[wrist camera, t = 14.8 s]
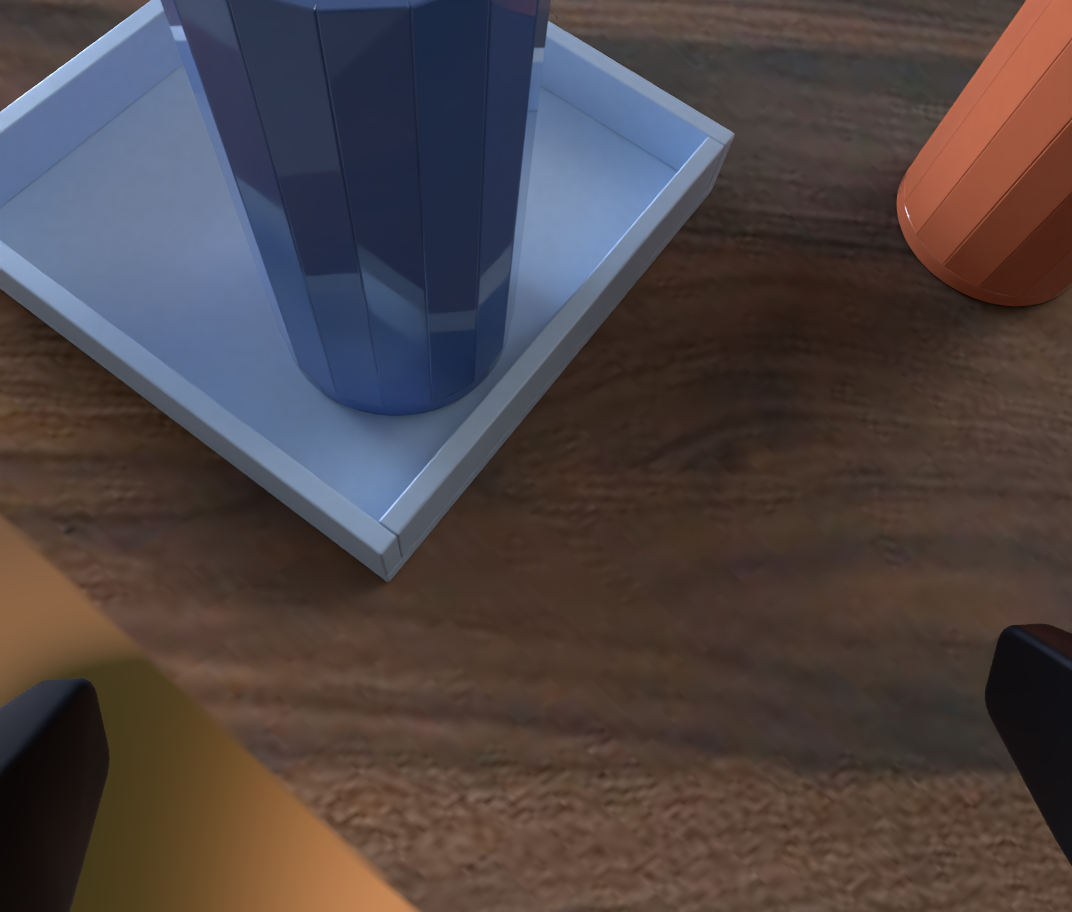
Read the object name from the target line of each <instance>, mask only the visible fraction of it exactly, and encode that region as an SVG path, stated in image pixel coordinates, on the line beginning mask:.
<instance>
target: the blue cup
mask: <svg viewBox="0 0 1072 912" xmlns="http://www.w3.org/2000/svg"><path fill="white" fill-rule="evenodd" d="M160 1H161V3H162V6H163V9H164V12H165V14H166V17H167V20H168V23H169V26H170V28H171V31H172V34H173V37H174V39H175V42H176V45H177V48H178V51H179V53H180V56H181V59H182V62H183V64H184V67H185V70H186V73H187V76H188V78H189V81H190V84H191V87H192V89H193V92H194V95H195V98H196V101H197V103H198V106H199V109H200V112H201V115H202V117H203V120H204V123H205V126H206V128H207V131H208V134H209V137H210V140H211V142H212V145H213V148H214V151H215V153H216V156H217V159H218V162H219V165H220V167H221V170H222V173H223V176H224V178H225V181H226V184H227V187H228V190H229V192H230V195H231V198H232V201H233V204H234V206H235V209H236V212H237V215H238V217H239V220H240V223H241V226H242V229H243V231H244V234H245V237H246V240H247V242H248V245H249V248H250V251H251V254H252V256H253V259H254V262H255V265H256V267H257V270H258V273H259V276H260V279H261V281H262V284H263V287H264V290H265V292H266V295H267V298H268V301H269V304H270V306H271V309H272V312H273V315H274V318H275V320H276V323H277V326H278V329H279V331H280V334H281V336H282V337H283V339H284V341H285V343H286V345H287V348H288V350H289V352H290V355H291V357H292V359H293V361H294V362H295V364H296V365H297V367H298V368H299V370H300V372H301V373H302V374H303V375H304V376H305V377H306V378H307V380H308V381H309V382H310V383H311V384H312V385H314V386H315V387H316V388H317V389H318V390H319V391H321V392H322V393H323V394H325V395H327V396H328V397H330V398H331V399H333V400H335V401H337V402H339V403H341V404H343V405H345V406H347V407H350V408H353V409H356V410H359V411H362V412H367V413H372V414H377V415H389V416H402V415H413V414H420V413H425V412H429V411H432V410H436V409H439V408H442V407H444V406H446V405H449V404H451V403H453V402H455V401H457V400H459V399H460V398H462V397H464V396H465V395H467V394H468V393H470V392H471V391H472V390H474V389H475V388H476V387H477V386H479V385H480V384H481V383H482V382H483V381H484V380H485V379H486V378H487V377H488V375H489V374H490V373H491V371H492V370H493V369H494V367H495V366H496V365H497V363H498V361H499V359H500V357H501V356H502V354H503V351H504V349H505V346H506V343H507V340H508V336H509V331H510V324H511V321H512V317H513V314H514V307H515V298H516V289H517V281H518V272H519V264H520V255H521V247H522V238H523V230H524V221H525V213H526V204H527V196H528V187H529V179H530V170H531V162H532V153H533V145H534V136H535V128H536V119H537V111H538V102H539V94H540V85H541V76H542V68H543V59H544V51H545V42H546V34H547V25H548V17H549V8H550V0H160Z"/></svg>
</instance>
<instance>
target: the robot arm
mask: <svg viewBox="0 0 1072 912" xmlns="http://www.w3.org/2000/svg"><path fill="white" fill-rule="evenodd" d="M985 701H986V707H987V710H988V713H989V716H990V718H991V720H992V722H993V724H994V725H995V727H996V729H997V731H998V733H999V735H1000V737H1001V739H1002V740H1003V742H1004V744H1005V746H1006V748H1007V750H1008V752H1009V754H1010V755H1011V757H1012V759H1013V761H1014V763H1015V765H1016V767H1017V769H1018V770H1019V772H1020V774H1021V776H1022V778H1023V780H1024V782H1025V784H1026V786H1027V787H1028V789H1029V791H1030V793H1031V795H1032V797H1033V799H1034V801H1035V802H1036V804H1037V806H1038V808H1039V810H1040V812H1041V814H1042V816H1043V817H1044V819H1045V821H1046V823H1047V825H1048V827H1049V828H1050V830H1051V832H1052V834H1053V836H1054V837H1055V839H1056V841H1057V843H1058V844H1059V846H1060V848H1061V849H1062V851H1063V853H1064V854H1065V856H1066V857H1067V859H1068V861H1069V862H1070V864H1071V865H1072V634H1071V633H1069V632H1066V631H1064V630H1061V629H1059V628H1056V627H1054V626H1051V625H1048V624H1027V625H1012V626H1009V627H1007V628H1005V629H1004V630H1003V631H1002V633H1001V634H1000V636H999V638H998V642H997V646H996V650H995V653H994V657H993V661H992V665H991V669H990V673H989V677H988V681H987V685H986V690H985ZM108 768H109V748H108V743H107V738H106V734H105V730H104V725H103V721H102V716H101V712H100V707H99V703H98V698H97V694H96V691H95V688H94V686H93V685H92V683H91V682H89V681H88V680H86V679H82V678H80V679H62V680H47V681H42V682H40V683H38V684H36V685H34V686H33V687H31V688H30V689H28V690H27V691H25V692H23V693H22V694H20V695H19V696H17V697H16V698H14V699H13V700H11V701H10V702H8V703H6V704H5V705H3V706H2V707H0V912H70V911H71V907H72V904H73V900H74V896H75V893H76V889H77V885H78V881H79V878H80V874H81V870H82V867H83V863H84V859H85V856H86V852H87V848H88V845H89V841H90V837H91V834H92V830H93V826H94V823H95V819H96V815H97V812H98V808H99V804H100V801H101V797H102V793H103V789H104V786H105V782H106V778H107V774H108Z"/></svg>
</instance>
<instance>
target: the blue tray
mask: <svg viewBox="0 0 1072 912" xmlns="http://www.w3.org/2000/svg"><path fill="white" fill-rule="evenodd" d="M733 137H734V133H733V132H731V131H729V130H728V129H726V128H724V127H723V126H721V125H719V124H718V123H716V122H715V121H713V120H711V119H710V118H708V117H706V116H705V115H703V114H701V113H700V112H698V111H696V110H695V109H693V108H691V107H690V106H688V105H686V104H685V103H683V102H681V101H680V100H678V99H677V98H675V97H673V96H672V95H670V94H668V93H667V92H665V91H663V90H662V89H660V88H658V87H657V86H655V85H653V84H652V83H650V82H648V81H647V80H645V79H644V78H642V77H640V76H639V75H637V74H635V73H634V72H632V71H630V70H629V69H627V68H625V67H624V66H622V65H620V64H619V63H617V62H615V61H614V60H612V59H610V58H609V57H607V56H606V55H604V54H602V53H601V52H599V51H597V50H596V49H594V48H592V47H591V46H589V45H587V44H586V43H584V42H582V41H581V40H579V39H577V38H576V37H574V36H572V35H571V34H569V33H568V32H566V31H564V30H563V29H561V28H559V27H558V26H556V25H554V24H553V23H551V22H549V21H548V25H547V34H546V42H545V51H544V59H543V68H542V76H541V85H540V94H539V102H538V111H537V119H536V128H535V136H534V145H533V153H532V162H531V170H530V179H529V187H528V196H527V204H526V213H525V221H524V230H523V238H522V247H521V255H520V264H519V272H518V281H517V289H516V298H515V307H514V314H513V317H512V321H511V324H510V331H509V336H508V340H507V343H506V346H505V349H504V351H503V354H502V356H501V357H500V359H499V361H498V363H497V365H496V366H495V367H494V369H493V370H492V371H491V373H490V374H489V375H488V377H487V378H486V379H485V380H484V381H483V382H482V383H481V384H480V385H479V386H477V387H476V388H475V389H474V390H472V391H471V392H470V393H468V394H467V395H465V396H464V397H462V398H460V399H459V400H457V401H455V402H453V403H451V404H449V405H446V406H444V407H442V408H439V409H436V410H432V411H429V412H425V413H420V414H413V415H402V416H389V415H377V414H372V413H367V412H362V411H359V410H356V409H353V408H350V407H347V406H345V405H343V404H341V403H339V402H337V401H335V400H333V399H331V398H330V397H328V396H327V395H325V394H323V393H322V392H321V391H319V390H318V389H317V388H316V387H315V386H314V385H312V384H311V383H310V382H309V381H308V380H307V378H306V377H305V376H304V375H303V374H302V373H301V372H300V370H299V368H298V367H297V365H296V364H295V362H294V361H293V359H292V357H291V355H290V352H289V350H288V348H287V345H286V343H285V341H284V339H283V337H282V336H281V334H280V331H279V329H278V326H277V323H276V320H275V318H274V315H273V312H272V309H271V306H270V304H269V301H268V298H267V295H266V292H265V290H264V287H263V284H262V281H261V279H260V276H259V273H258V270H257V267H256V265H255V262H254V259H253V256H252V254H251V251H250V248H249V245H248V242H247V240H246V237H245V234H244V231H243V229H242V226H241V223H240V220H239V217H238V215H237V212H236V209H235V206H234V204H233V201H232V198H231V195H230V192H229V190H228V187H227V184H226V181H225V178H224V176H223V173H222V170H221V167H220V165H219V162H218V159H217V156H216V153H215V151H214V148H213V145H212V142H211V140H210V137H209V134H208V131H207V128H206V126H205V123H204V120H203V117H202V115H201V112H200V109H199V106H198V103H197V101H196V98H195V95H194V92H193V89H192V87H191V84H190V81H189V78H188V76H187V73H186V70H185V67H184V64H183V62H182V59H181V56H180V53H179V51H178V48H177V45H176V42H175V39H174V37H173V34H172V31H171V28H170V26H169V23H168V20H167V17H166V14H165V12H164V9H163V6H162V3H161V1H160V0H151V1H150V2H148V3H147V4H146V5H144V6H143V7H142V8H140V9H139V10H138V11H136V12H135V13H134V14H132V15H131V16H130V17H128V18H127V19H125V20H124V21H123V22H121V23H120V24H119V25H117V26H116V27H115V28H113V29H112V30H111V31H109V32H108V33H107V34H105V35H104V36H103V37H101V38H100V39H98V40H97V41H96V42H94V43H93V44H92V45H90V46H89V47H88V48H86V49H85V50H84V51H82V52H81V53H80V54H78V55H77V56H75V57H74V58H73V59H71V60H70V61H69V62H67V63H66V64H65V65H63V66H62V67H61V68H59V69H58V70H57V71H55V72H54V73H52V74H51V75H50V76H48V77H47V78H46V79H44V80H43V81H42V82H40V83H39V84H38V85H36V86H35V87H34V88H32V89H31V90H30V91H28V92H27V93H25V94H24V95H23V96H21V97H20V98H19V99H17V100H16V101H15V102H13V103H12V104H11V105H9V106H8V107H7V108H5V109H4V110H2V111H1V112H0V289H1V290H2V291H4V292H5V293H6V294H8V295H9V296H10V297H12V298H13V299H14V300H16V301H17V302H18V303H20V304H21V305H22V306H24V307H25V308H26V309H28V310H29V311H30V312H32V313H33V314H34V315H35V316H37V317H38V318H39V319H41V320H42V321H43V322H45V323H46V324H47V325H49V326H50V327H51V328H53V329H54V330H55V331H57V332H58V333H59V334H61V335H62V336H63V337H65V338H66V339H67V340H68V341H70V342H71V343H72V344H74V345H75V346H76V347H78V348H79V349H80V350H82V351H83V352H84V353H86V354H87V355H88V356H90V357H91V358H92V359H94V360H95V361H96V362H97V363H99V364H100V365H101V366H103V367H104V368H105V369H107V370H108V371H109V372H111V373H112V374H113V375H115V376H116V377H117V378H119V379H120V380H121V381H123V382H124V383H125V384H127V385H128V386H129V387H130V388H132V389H133V390H134V391H136V392H137V393H138V394H140V395H141V396H142V397H144V398H145V399H146V400H148V401H149V402H150V403H152V404H153V405H154V406H156V407H157V408H158V409H159V410H161V411H162V412H163V413H165V414H166V415H167V416H169V417H170V418H171V419H173V420H174V421H175V422H177V423H178V424H179V425H181V426H182V427H183V428H185V429H186V430H187V431H189V432H190V433H191V434H192V435H194V436H195V437H196V438H198V439H199V440H200V441H202V442H203V443H204V444H206V445H207V446H208V447H210V448H211V449H212V450H214V451H215V452H216V453H218V454H219V455H220V456H222V457H223V458H224V459H225V460H227V461H228V462H229V463H231V464H232V465H233V466H235V467H236V468H237V469H239V470H240V471H241V472H243V473H244V474H245V475H247V476H248V477H249V478H251V479H252V480H253V481H254V482H256V483H257V484H258V485H260V486H261V487H262V488H264V489H265V490H266V491H268V492H269V493H270V494H272V495H273V496H274V497H276V498H277V499H278V500H280V501H281V502H282V503H284V504H285V505H286V506H287V507H289V508H290V509H291V510H293V511H294V512H295V513H297V514H298V515H299V516H301V517H302V518H303V519H305V520H306V521H307V522H309V523H310V524H311V525H313V526H314V527H315V528H316V529H318V530H319V531H320V532H322V533H323V534H324V535H326V536H327V537H328V538H330V539H331V540H332V541H334V542H335V543H336V544H338V545H339V546H340V547H342V548H343V549H344V550H346V551H347V552H348V553H349V554H351V555H352V556H353V557H355V558H356V559H357V560H359V561H360V562H361V563H363V564H364V565H365V566H367V567H368V568H369V569H371V570H372V571H373V572H375V573H376V574H377V575H379V576H380V577H381V578H382V579H384V580H385V581H386V582H390V581H391V580H392V578H393V577H394V576H395V575H396V573H397V572H398V571H399V570H400V569H401V567H402V566H403V565H404V564H405V563H406V561H407V560H408V559H409V558H410V556H411V555H412V554H413V553H414V552H415V550H416V549H417V548H418V547H419V546H420V544H421V543H422V542H423V541H424V539H425V538H426V537H427V536H428V535H429V533H430V532H431V531H432V530H433V529H434V527H435V526H436V525H437V524H438V522H439V521H440V520H441V519H442V518H443V516H444V515H445V514H446V513H447V512H448V510H449V509H450V508H451V507H452V505H453V504H454V503H455V502H456V501H457V499H458V498H459V497H460V496H461V495H462V493H463V492H464V491H465V490H466V488H467V487H468V486H469V485H470V484H471V482H472V481H473V480H474V479H475V478H476V476H477V475H478V474H479V473H480V471H481V470H482V469H483V468H484V467H485V465H486V464H487V463H488V462H489V461H490V459H491V458H492V457H493V456H494V455H495V453H496V452H497V451H498V450H499V448H500V447H501V446H502V445H503V444H504V442H505V441H506V440H507V439H508V438H509V436H510V435H511V434H512V433H513V431H514V430H515V429H516V428H517V427H518V425H519V424H520V423H521V422H522V421H523V419H524V418H525V417H526V416H527V414H528V413H529V412H530V411H531V410H532V408H533V407H534V406H535V405H536V404H537V402H538V401H539V400H540V399H541V397H542V396H543V395H544V394H545V393H546V391H547V390H548V389H549V388H550V387H551V385H552V384H553V383H554V382H555V380H556V379H557V378H558V377H559V376H560V374H561V373H562V372H563V371H564V370H565V368H566V367H567V366H568V365H569V363H570V362H571V361H572V360H573V359H574V357H575V356H576V355H577V354H578V353H579V351H580V350H581V349H582V348H583V346H584V345H585V344H586V343H587V342H588V340H589V339H590V338H591V337H592V336H593V334H594V333H595V332H596V331H597V329H598V328H599V327H600V326H601V325H602V323H603V322H604V321H605V320H606V319H607V317H608V316H609V315H610V314H611V312H612V311H613V310H614V309H615V308H616V306H617V305H618V304H619V303H620V302H621V300H622V299H623V298H624V297H625V295H626V294H627V293H628V292H629V291H630V289H631V288H632V287H633V286H634V285H635V283H636V282H637V281H638V280H639V278H640V277H641V276H642V275H643V274H644V272H645V271H646V270H647V269H648V268H649V266H650V265H651V264H652V263H653V261H654V260H655V259H656V258H657V257H658V255H659V254H660V253H661V252H662V251H663V249H664V248H665V247H666V246H667V244H668V243H669V242H670V241H671V240H672V238H673V237H674V236H675V235H676V234H677V232H678V231H679V230H680V229H681V227H682V226H683V225H684V224H685V223H686V221H687V220H688V219H689V218H690V217H691V215H692V214H693V213H694V212H695V210H696V209H697V208H698V207H699V206H700V204H701V203H702V202H703V201H704V200H705V198H706V197H707V196H708V195H709V193H710V192H711V191H712V189H713V186H714V184H715V181H716V179H717V176H718V174H719V171H720V169H721V167H722V164H723V162H724V159H725V157H726V154H727V152H728V150H729V147H730V145H731V142H732V140H733Z"/></svg>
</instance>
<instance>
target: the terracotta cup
mask: <svg viewBox="0 0 1072 912" xmlns="http://www.w3.org/2000/svg"><path fill="white" fill-rule="evenodd" d="M897 215H898V221H899V224H900V228H901V231H902V233H903V235H904V237H905V240H906V242H907V243H908V245H909V247H910V248H911V250H912V252H913V253H914V254H915V255H916V257H917V258H918V259H919V261H920V262H921V263H922V264H923V265H924V266H925V267H926V268H927V269H928V270H929V271H930V272H931V273H932V274H934V275H935V276H936V277H937V278H938V279H940V280H941V281H943V282H944V283H945V284H947V285H948V286H950V287H952V288H953V289H955V290H957V291H959V292H961V293H963V294H965V295H967V296H970V297H972V298H974V299H977V300H981V301H984V302H987V303H991V304H997V305H1003V306H1029V305H1035V304H1040V303H1043V302H1046V301H1049V300H1052V299H1054V298H1056V297H1058V296H1060V295H1061V294H1063V293H1064V292H1065V291H1067V290H1068V289H1069V288H1071V287H1072V0H1026V1H1025V3H1024V4H1023V5H1022V7H1021V8H1020V10H1019V11H1018V13H1017V14H1016V15H1015V17H1014V18H1013V20H1012V21H1011V23H1010V24H1009V25H1008V27H1007V28H1006V30H1005V31H1004V33H1003V34H1002V36H1001V37H1000V38H999V40H998V41H997V43H996V44H995V46H994V47H993V48H992V50H991V51H990V53H989V54H988V56H987V57H986V58H985V60H984V61H983V63H982V64H981V66H980V67H979V68H978V70H977V71H976V73H975V74H974V76H973V77H972V78H971V80H970V81H969V83H968V84H967V86H966V87H965V88H964V90H963V91H962V93H961V94H960V96H959V97H958V98H957V100H956V101H955V103H954V104H953V106H952V107H951V108H950V110H949V111H948V113H947V114H946V116H945V117H944V118H943V120H942V121H941V123H940V124H939V126H938V127H937V128H936V130H935V131H934V133H933V134H932V136H931V137H930V138H929V140H928V141H927V143H926V144H925V146H924V147H923V149H922V150H921V151H920V153H919V154H918V156H917V157H916V159H915V160H914V161H913V163H912V164H911V166H910V167H909V169H908V170H907V172H906V173H905V175H904V177H903V178H902V181H901V183H900V186H899V189H898V195H897Z"/></svg>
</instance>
